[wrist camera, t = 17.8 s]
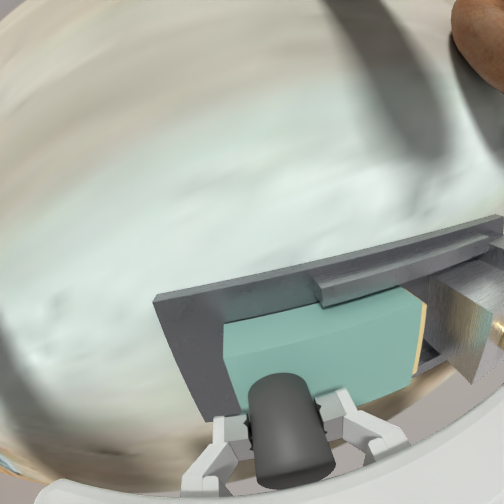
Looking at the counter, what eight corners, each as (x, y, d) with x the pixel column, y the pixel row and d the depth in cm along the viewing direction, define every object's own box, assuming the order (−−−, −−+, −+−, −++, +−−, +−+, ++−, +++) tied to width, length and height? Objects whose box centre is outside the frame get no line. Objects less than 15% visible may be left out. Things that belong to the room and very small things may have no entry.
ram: (223, 323, 14) (222, 448, 6) (400, 278, 14) (494, 345, 7) (247, 398, 16) (258, 505, 8) (395, 355, 16) (457, 430, 8)
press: (156, 294, 15) (121, 357, 9) (495, 214, 15) (548, 229, 9) (206, 412, 17) (202, 478, 11) (483, 318, 18) (523, 346, 12)
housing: (474, 257, 15) (545, 292, 8) (466, 315, 16) (524, 359, 9) (429, 275, 15) (508, 324, 8) (423, 337, 16) (482, 395, 9)
